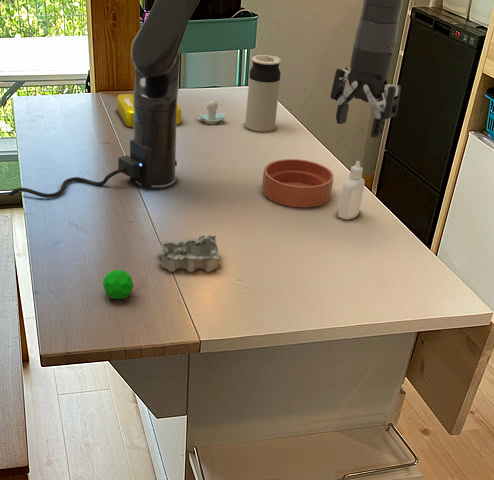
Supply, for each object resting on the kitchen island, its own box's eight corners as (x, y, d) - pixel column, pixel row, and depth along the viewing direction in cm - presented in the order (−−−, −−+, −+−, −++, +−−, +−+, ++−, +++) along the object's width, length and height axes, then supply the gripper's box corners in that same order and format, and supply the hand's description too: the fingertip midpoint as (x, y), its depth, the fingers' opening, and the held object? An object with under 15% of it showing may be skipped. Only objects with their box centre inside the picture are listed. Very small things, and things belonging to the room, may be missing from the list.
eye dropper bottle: (365, 218, 150) (375, 164, 143) (341, 221, 148) (351, 167, 141) (354, 209, 153) (364, 156, 146) (331, 211, 152) (340, 158, 145)
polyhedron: (123, 285, 123) (123, 261, 121) (138, 298, 120) (138, 274, 118) (98, 294, 121) (97, 270, 118) (113, 307, 118) (112, 283, 115)
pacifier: (194, 118, 195) (200, 125, 190) (195, 95, 192) (201, 102, 187) (220, 117, 197) (226, 124, 192) (221, 94, 193) (228, 101, 189)
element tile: (115, 109, 197) (115, 92, 195) (168, 107, 201) (168, 90, 199) (127, 128, 186) (127, 110, 183) (182, 125, 190) (183, 107, 187)
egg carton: (216, 253, 134) (218, 234, 132) (218, 274, 128) (220, 254, 126) (160, 251, 134) (160, 232, 131) (159, 272, 128) (160, 252, 125)
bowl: (299, 215, 149) (302, 193, 147) (247, 190, 158) (249, 169, 155) (344, 196, 158) (347, 175, 155) (292, 174, 167) (295, 153, 164)
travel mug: (250, 133, 188) (257, 63, 177) (241, 122, 194) (246, 54, 184) (278, 131, 190) (286, 62, 179) (268, 121, 196) (275, 54, 186)
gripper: (331, 38, 133) (318, 122, 143) (394, 57, 125) (375, 145, 135) (356, 34, 138) (341, 115, 147) (418, 51, 130) (398, 137, 139)
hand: (357, 129), depth 141 cm, fingers open, 8 cm apart
